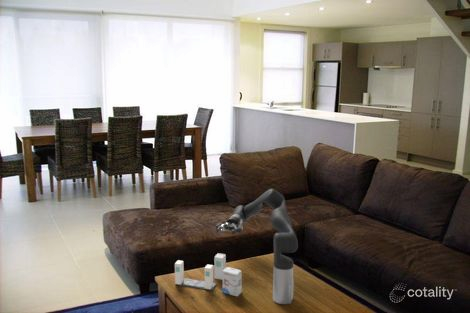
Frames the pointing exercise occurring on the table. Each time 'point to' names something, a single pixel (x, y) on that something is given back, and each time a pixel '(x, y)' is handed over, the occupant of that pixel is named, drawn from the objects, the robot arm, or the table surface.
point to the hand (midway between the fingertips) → (225, 232)
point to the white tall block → (219, 265)
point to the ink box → (232, 281)
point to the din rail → (195, 284)
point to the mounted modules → (180, 274)
